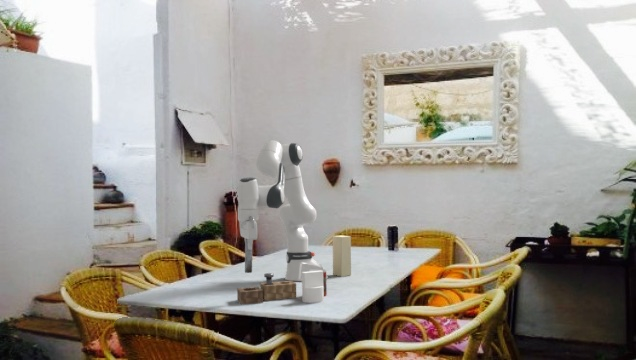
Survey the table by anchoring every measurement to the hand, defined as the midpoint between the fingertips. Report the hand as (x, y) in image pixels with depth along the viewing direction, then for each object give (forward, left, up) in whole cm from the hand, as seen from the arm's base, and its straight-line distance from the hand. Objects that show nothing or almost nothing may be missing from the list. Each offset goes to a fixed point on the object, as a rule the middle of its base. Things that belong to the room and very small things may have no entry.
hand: (248, 249), depth 221 cm
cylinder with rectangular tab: (-25, +9, -22) cm, 35 cm away
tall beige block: (-59, -45, -22) cm, 78 cm away
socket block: (-13, -3, -22) cm, 26 cm away
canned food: (-30, 0, -22) cm, 37 cm away
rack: (0, 0, -22) cm, 22 cm away
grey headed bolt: (-9, -3, -20) cm, 22 cm away
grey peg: (0, 0, -10) cm, 10 cm away
